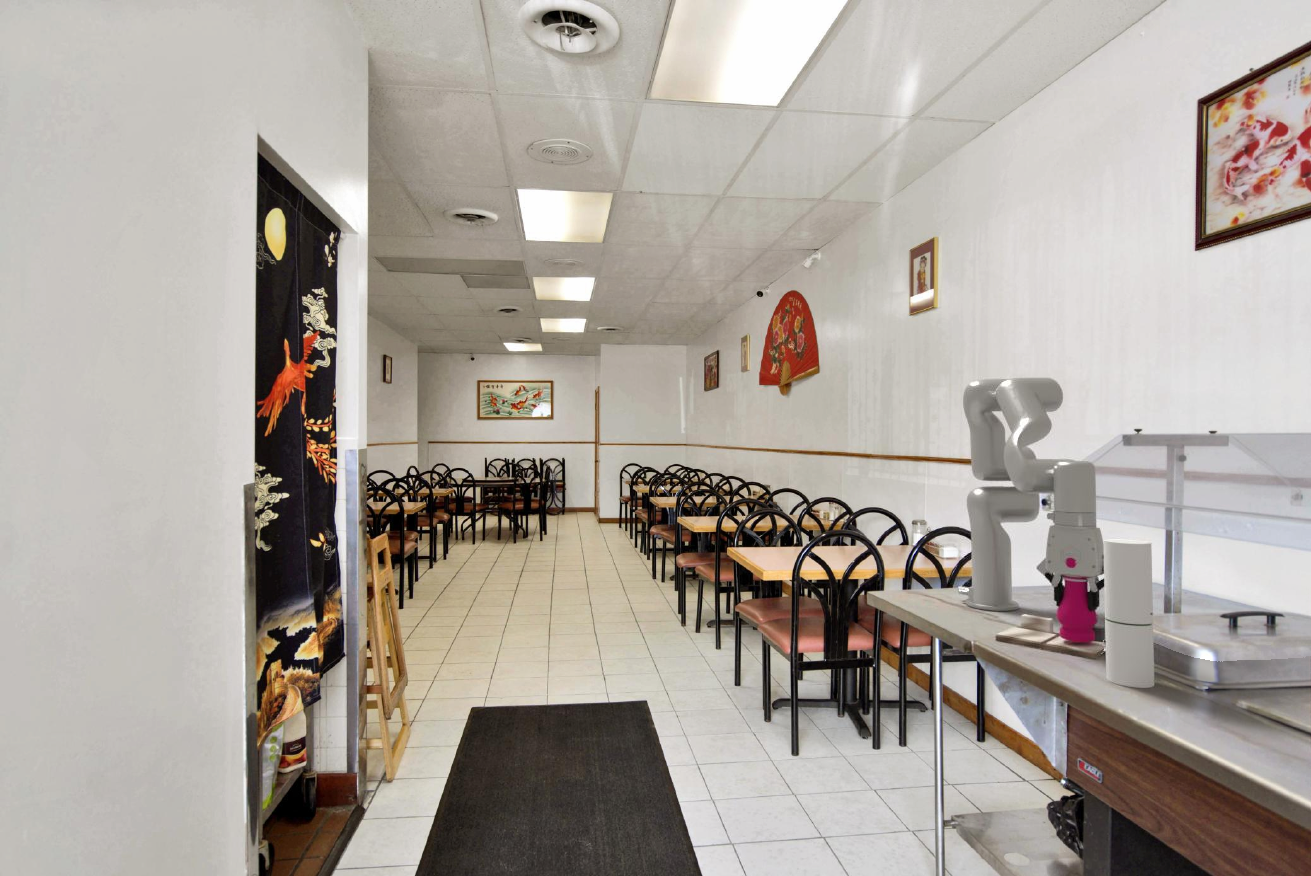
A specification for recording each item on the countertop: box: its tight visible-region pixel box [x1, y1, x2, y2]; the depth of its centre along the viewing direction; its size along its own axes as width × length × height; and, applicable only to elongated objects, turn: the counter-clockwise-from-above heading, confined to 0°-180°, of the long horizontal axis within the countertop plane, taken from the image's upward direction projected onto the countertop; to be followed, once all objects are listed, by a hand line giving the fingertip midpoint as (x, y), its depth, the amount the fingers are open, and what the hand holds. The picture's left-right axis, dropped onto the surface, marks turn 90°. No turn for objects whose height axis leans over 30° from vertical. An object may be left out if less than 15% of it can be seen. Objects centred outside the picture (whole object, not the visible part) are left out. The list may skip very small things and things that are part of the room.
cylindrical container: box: [1103, 538, 1155, 689], centre depth 125 cm, size 7×7×25 cm
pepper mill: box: [1056, 558, 1098, 642], centre depth 145 cm, size 7×7×20 cm
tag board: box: [995, 613, 1105, 660], centre depth 149 cm, size 19×12×4 cm, turn 42°
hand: (1076, 606), depth 145 cm, fingers closed on pepper mill, 5 cm apart
